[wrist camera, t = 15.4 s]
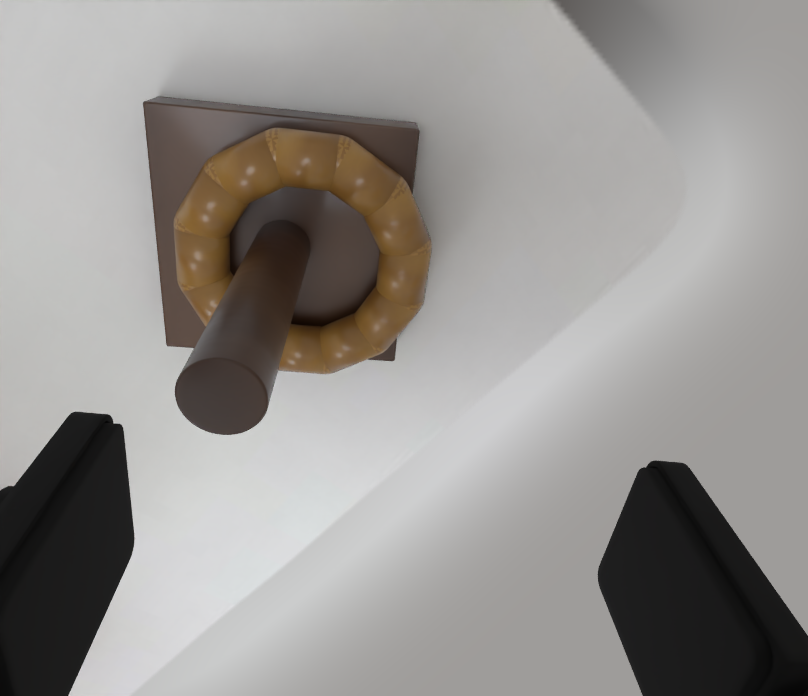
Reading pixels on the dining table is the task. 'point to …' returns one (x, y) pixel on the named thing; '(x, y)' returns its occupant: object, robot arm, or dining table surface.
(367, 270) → the stand
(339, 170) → the ring
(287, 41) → the dining table surface
